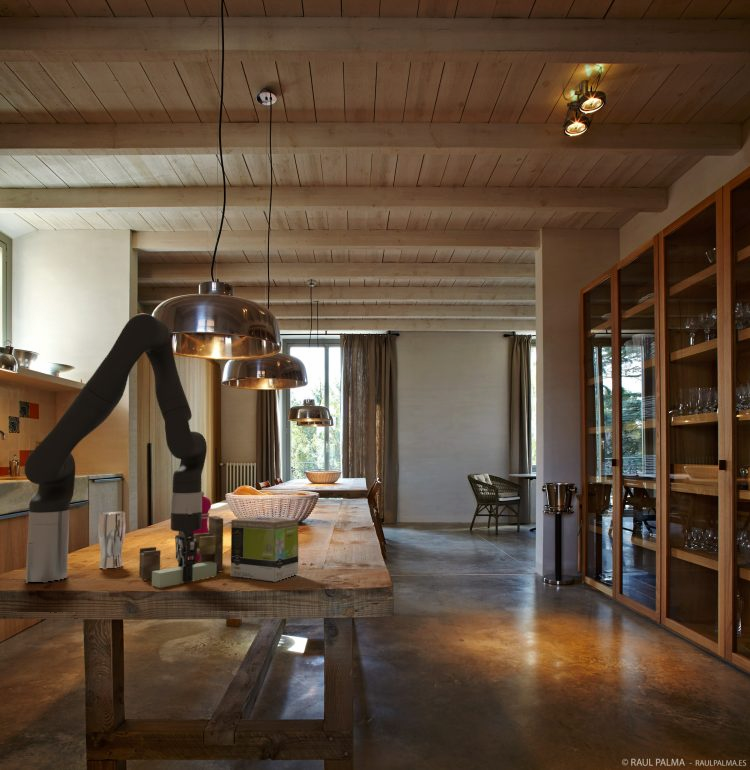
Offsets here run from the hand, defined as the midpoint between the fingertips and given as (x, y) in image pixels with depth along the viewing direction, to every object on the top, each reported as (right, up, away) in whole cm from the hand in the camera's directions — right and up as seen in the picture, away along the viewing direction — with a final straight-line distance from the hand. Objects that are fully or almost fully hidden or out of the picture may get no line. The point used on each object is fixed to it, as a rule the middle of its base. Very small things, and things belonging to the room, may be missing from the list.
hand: (185, 579), depth 153 cm
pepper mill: (-4, -3, +27) cm, 28 cm away
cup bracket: (+2, -1, +12) cm, 12 cm away
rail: (0, -1, 0) cm, 1 cm away
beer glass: (-26, -2, +17) cm, 31 cm away
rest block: (-11, -1, +4) cm, 11 cm away
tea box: (+19, -1, +5) cm, 20 cm away
